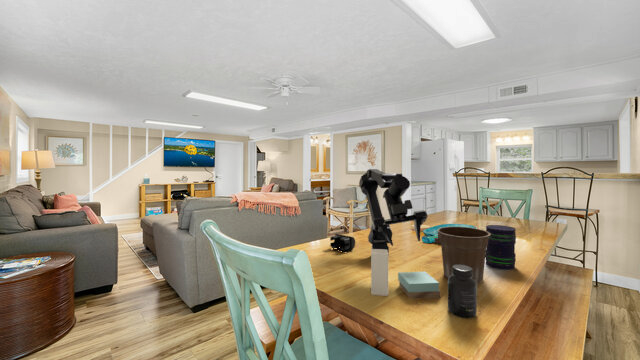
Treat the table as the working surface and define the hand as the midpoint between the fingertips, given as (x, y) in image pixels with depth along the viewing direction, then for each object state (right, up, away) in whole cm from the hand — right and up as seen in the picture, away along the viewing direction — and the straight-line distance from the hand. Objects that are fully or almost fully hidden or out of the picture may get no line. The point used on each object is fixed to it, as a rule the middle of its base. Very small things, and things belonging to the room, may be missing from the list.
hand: (405, 243), depth 97 cm
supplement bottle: (+8, -13, -23) cm, 28 cm away
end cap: (-19, -11, +36) cm, 42 cm away
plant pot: (+20, -12, +1) cm, 23 cm away
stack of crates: (+32, -11, +44) cm, 56 cm away
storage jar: (+40, -12, +12) cm, 43 cm away
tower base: (+1, -13, -10) cm, 17 cm away
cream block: (-11, -13, -10) cm, 20 cm away
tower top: (0, -11, -10) cm, 15 cm away
